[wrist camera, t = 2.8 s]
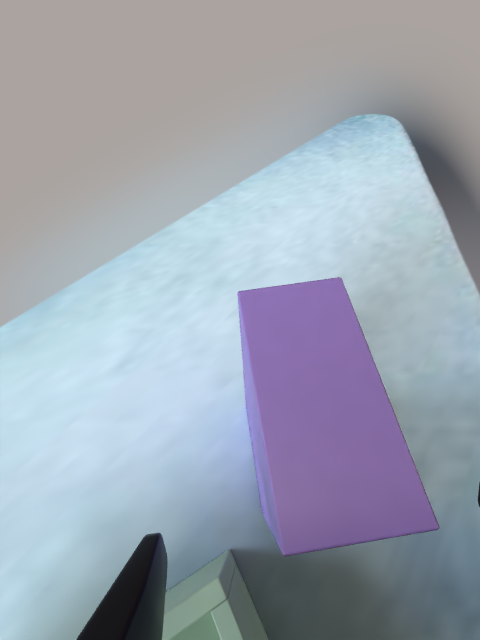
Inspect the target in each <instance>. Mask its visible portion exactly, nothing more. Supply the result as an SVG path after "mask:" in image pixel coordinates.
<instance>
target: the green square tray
mask: <svg viewBox="0 0 480 640" xmlns="http://www.w3.org/2000/svg"><path fill="white" fill-rule="evenodd" d="M162 640H269V639H268V637H267V634H266V632H265V630H264V627H263V625H262V623H261V620H260V618H259V616H258V613H257V611H256V609H255V606H254V604H253V602H252V599H251V597H250V595H249V592H248V590H247V588H246V585H245V583H244V581H243V578H242V576H241V574H240V571H239V569H238V567H237V564H236V562H235V560H234V557H233V555H232V553H231V550H230V549H228V550H227V551H226V552H224V553H223V554H221V555H220V556H218V557H217V558H215V559H214V560H212V561H211V562H209V563H208V564H206V565H205V566H203V567H202V568H201V569H199V570H198V571H196V572H195V573H193V574H192V575H190V576H189V577H187V578H186V579H184V580H183V581H181V582H180V583H178V584H177V585H175V586H174V587H173V588H171V589H170V590H168V591H167V592H166V593H165V607H164V622H163V634H162Z"/></svg>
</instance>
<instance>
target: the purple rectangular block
mask: <svg viewBox="0 0 480 640" xmlns="http://www.w3.org/2000/svg"><path fill="white" fill-rule="evenodd" d="M238 305H239V318H240V332H241V345H242V359H243V372H244V386H245V399H246V409H247V416H248V423H249V429H250V436H251V442H252V449H253V455H254V462H255V469H256V475H257V482H258V488H259V495H260V501H261V508H262V513H263V515H264V517H265V519H266V521H267V523H268V525H269V527H270V530H271V532H272V534H273V536H274V538H275V540H276V542H277V544H278V546H279V548H280V550H281V553H282V554H283V556H291V555H296V554H302V553H308V552H314V551H319V550H325V549H331V548H336V547H342V546H348V545H354V544H359V543H365V542H371V541H376V540H382V539H388V538H393V537H399V536H405V535H411V534H416V533H422V532H428V531H433V530H438V529H439V525H438V523H437V520H436V517H435V515H434V512H433V510H432V507H431V505H430V502H429V500H428V497H427V495H426V492H425V489H424V487H423V484H422V482H421V479H420V477H419V474H418V472H417V469H416V467H415V464H414V462H413V459H412V456H411V454H410V451H409V449H408V446H407V444H406V441H405V439H404V436H403V434H402V431H401V429H400V426H399V423H398V421H397V418H396V416H395V413H394V411H393V408H392V406H391V403H390V401H389V398H388V395H387V393H386V390H385V388H384V385H383V383H382V380H381V378H380V375H379V373H378V370H377V368H376V365H375V362H374V360H373V357H372V355H371V352H370V350H369V347H368V345H367V342H366V340H365V337H364V334H363V332H362V329H361V327H360V324H359V322H358V319H357V317H356V314H355V312H354V309H353V307H352V304H351V301H350V299H349V296H348V294H347V291H346V289H345V286H344V284H343V281H342V279H341V278H340V277H339V278H331V279H324V280H317V281H310V282H303V283H295V284H288V285H281V286H274V287H267V288H259V289H252V290H245V291H239V292H238Z"/></svg>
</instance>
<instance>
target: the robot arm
mask: <svg viewBox="0 0 480 640" xmlns="http://www.w3.org/2000/svg"><path fill="white" fill-rule="evenodd" d="M478 504H479V507H480V484H479V493H478ZM166 578H167V553H166V549H165V545H164V541H163V538H162V535H161V533H153V534H148V535H146V536H145V537H144V538H143V539H142V541H141V542H140V544H139V545H138V547H137V548H136V550H135V551H134V553H133V554H132V556H131V557H130V559H129V560H128V562H127V563H126V565H125V566H124V568H123V569H122V571H121V573H120V574H119V576H118V577H117V579H116V580H115V582H114V583H113V585H112V586H111V588H110V589H109V591H108V592H107V594H106V595H105V597H104V598H103V600H102V601H101V603H100V604H99V606H98V607H97V609H96V611H95V612H94V614H93V615H92V617H91V618H90V620H89V621H88V623H87V624H86V626H85V627H84V629H83V630H82V632H81V633H80V635H79V636H78V638H77V639H76V640H162V634H163V622H164V607H165V593H166Z"/></svg>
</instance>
